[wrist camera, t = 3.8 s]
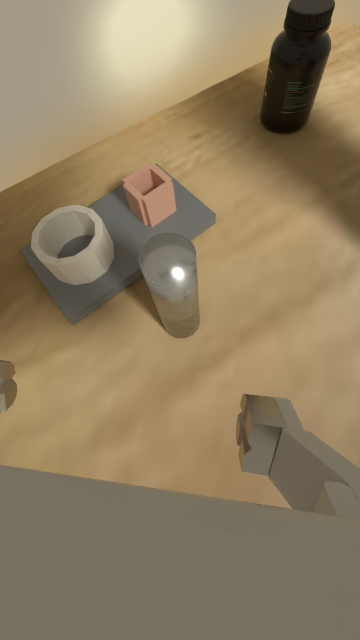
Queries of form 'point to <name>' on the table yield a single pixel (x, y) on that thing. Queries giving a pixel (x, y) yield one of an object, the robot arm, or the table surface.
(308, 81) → the supplement bottle
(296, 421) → the robot arm
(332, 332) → the table surface
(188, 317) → the metal peg
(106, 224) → the holder board
